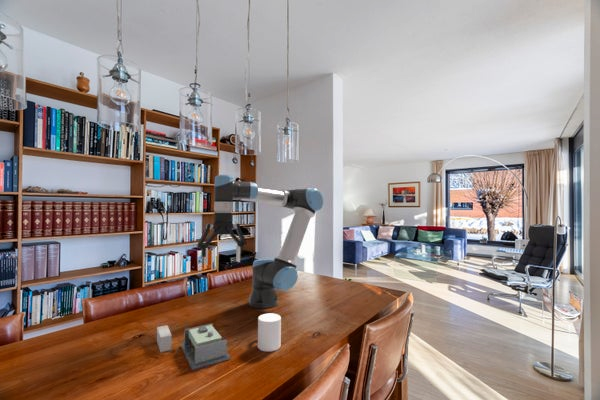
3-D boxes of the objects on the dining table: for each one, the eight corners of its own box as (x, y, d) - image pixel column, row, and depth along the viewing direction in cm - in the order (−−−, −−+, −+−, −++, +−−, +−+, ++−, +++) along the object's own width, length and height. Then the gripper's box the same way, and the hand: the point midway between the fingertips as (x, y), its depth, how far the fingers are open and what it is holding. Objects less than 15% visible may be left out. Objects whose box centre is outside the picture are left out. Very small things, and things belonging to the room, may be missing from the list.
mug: (263, 323, 97) (250, 312, 107) (263, 354, 96) (250, 339, 107) (285, 318, 101) (270, 308, 111) (284, 348, 101) (270, 335, 111)
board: (188, 336, 100) (188, 326, 100) (211, 331, 105) (211, 322, 105) (197, 351, 90) (197, 340, 90) (221, 344, 95) (221, 334, 95)
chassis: (180, 345, 101) (181, 329, 102) (214, 337, 108) (214, 322, 108) (192, 370, 86) (192, 350, 87) (230, 359, 93) (230, 340, 93)
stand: (156, 340, 105) (157, 327, 105) (166, 338, 107) (167, 325, 107) (160, 352, 97) (160, 337, 97) (171, 349, 99) (171, 335, 99)
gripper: (194, 212, 108) (193, 268, 107) (254, 212, 122) (253, 261, 121) (190, 211, 114) (188, 264, 114) (247, 211, 128) (247, 259, 127)
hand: (222, 263), depth 117 cm, fingers open, 13 cm apart
